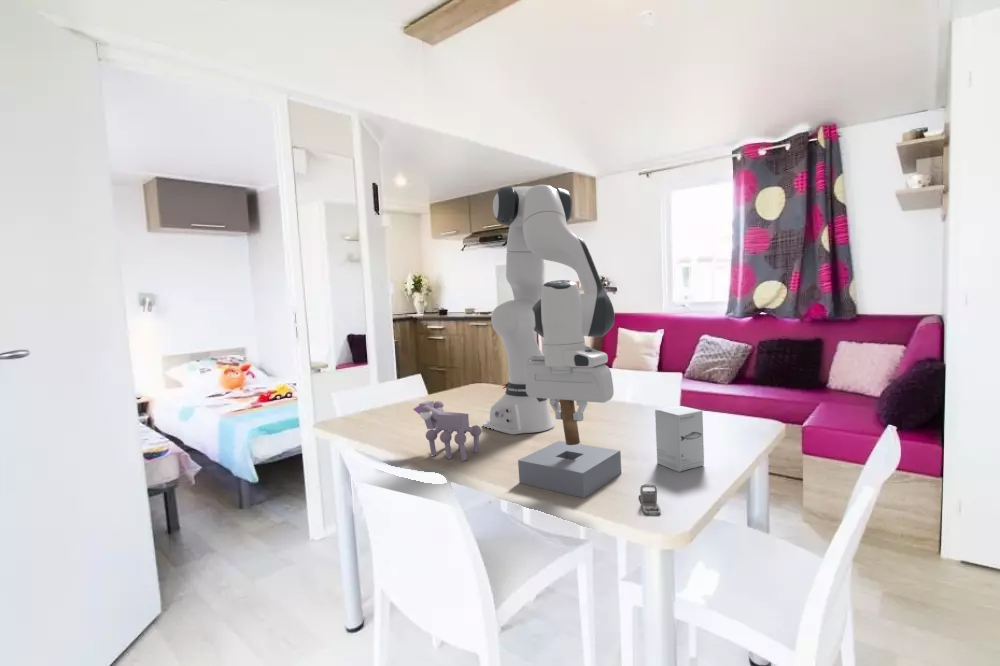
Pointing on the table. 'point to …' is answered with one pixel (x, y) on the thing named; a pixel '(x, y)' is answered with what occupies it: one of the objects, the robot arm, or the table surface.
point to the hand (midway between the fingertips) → (569, 419)
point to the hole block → (570, 468)
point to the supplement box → (679, 437)
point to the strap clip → (649, 501)
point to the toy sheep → (447, 427)
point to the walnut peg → (569, 422)
